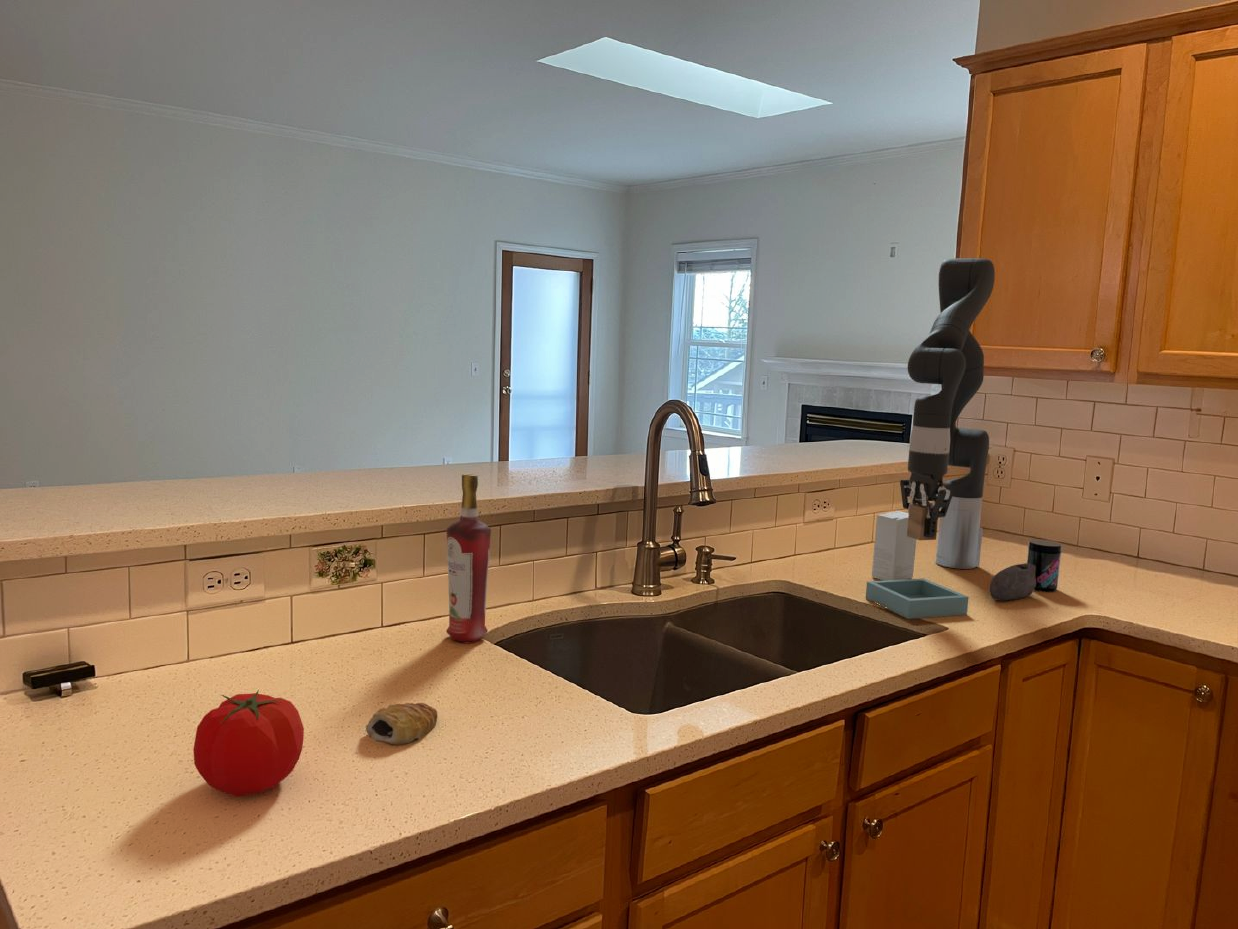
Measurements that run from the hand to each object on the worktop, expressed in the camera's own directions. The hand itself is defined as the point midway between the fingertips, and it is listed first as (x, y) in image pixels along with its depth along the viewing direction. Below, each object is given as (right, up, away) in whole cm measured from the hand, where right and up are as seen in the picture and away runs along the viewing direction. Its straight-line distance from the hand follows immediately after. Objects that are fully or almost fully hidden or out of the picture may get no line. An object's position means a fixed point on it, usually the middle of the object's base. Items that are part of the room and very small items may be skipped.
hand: (921, 534), depth 182 cm
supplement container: (+33, -14, +20) cm, 41 cm away
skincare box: (+1, -12, +24) cm, 27 cm away
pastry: (-89, -21, -65) cm, 112 cm away
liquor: (-86, -16, -28) cm, 92 cm away
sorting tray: (-1, -15, +2) cm, 15 cm away
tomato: (-102, -22, -80) cm, 131 cm away
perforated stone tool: (+23, -15, +11) cm, 29 cm away
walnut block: (0, -1, 0) cm, 1 cm away
